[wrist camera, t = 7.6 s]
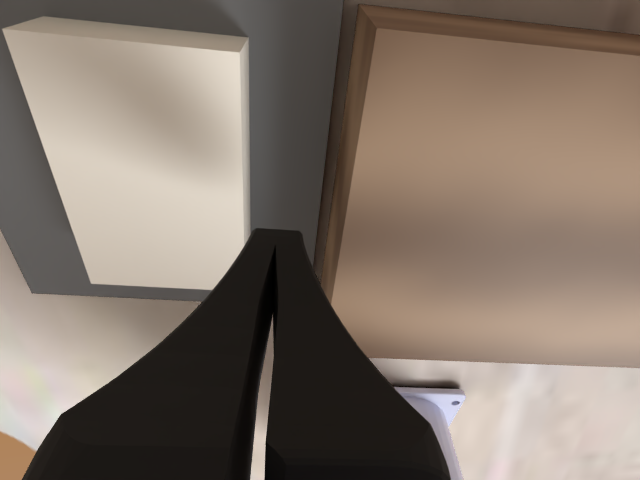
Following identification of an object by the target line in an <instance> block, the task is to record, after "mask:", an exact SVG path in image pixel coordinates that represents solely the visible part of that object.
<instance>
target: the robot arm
mask: <svg viewBox="0 0 640 480" xmlns="http://www.w3.org/2000/svg"><path fill="white" fill-rule="evenodd" d="M272 315H273V338H274V362H273V372H272V383H271V394H270V404H269V414H268V425H267V435H266V452H265V480H464V479H463V475H462V472H461V468H460V465H459V461H458V458H457V455H456V451H455V448H454V444H453V441H452V437H451V434H450V430H449V426H450V424H451V422H452V420H453V419H454V417H455V415H456V414H457V412H458V410H459V409H460V407H461V405H462V403H463V402H464V400H465V398H466V396H465V393H464V391H463V390H461V389H441V388H410V387H393V386H392V385H391V384H390V383H389V382H388V381H387V380H386V379H385V377H384V376H383V375H382V374H381V373H380V372H379V371H378V369H377V368H376V367H375V366H374V364H373V363H372V362H371V361H370V360H369V358H368V357H367V356H366V355H365V354H364V352H363V351H362V350H361V349H360V347H359V346H358V345H357V343H356V342H355V341H354V339H353V338H352V337H351V335H350V334H349V332H348V331H347V329H346V328H345V326H344V325H343V323H342V322H341V320H340V319H339V317H338V316H337V314H336V312H335V311H334V309H333V307H332V306H331V304H330V302H329V300H328V298H327V297H326V295H325V293H324V291H323V289H322V287H321V285H320V283H319V281H318V278H317V276H316V274H315V272H314V270H313V267H312V265H311V262H310V260H309V257H308V254H307V251H306V248H305V245H304V240H303V234H302V233H301V232H300V231H297V230H281V229H265V228H255V229H254V230H253V231H252V232H251V234H250V237H249V238H248V240H247V242H246V244H245V246H244V247H243V249H242V250H241V252H240V254H239V255H238V257H237V258H236V260H235V261H234V262H233V264H232V265H231V267H230V268H229V270H228V271H227V272H226V274H225V275H224V276H223V278H222V279H221V280H220V281H219V283H218V284H217V285H216V286H215V287H214V289H213V290H212V291H211V292H210V294H209V295H208V296H207V297H206V298H205V299H204V301H203V302H202V303H201V304H200V305H199V306H198V307H197V308H196V309H195V310H194V311H193V312H192V313H191V314H190V315H189V316H188V317H187V318H186V319H185V320H184V321H183V322H182V323H181V324H180V325H179V326H178V327H177V328H176V329H175V330H174V331H173V332H172V333H171V334H169V335H168V336H167V337H166V338H165V339H164V340H163V341H162V342H161V343H159V344H158V345H157V346H156V347H155V348H154V349H152V350H151V351H150V352H149V353H147V354H146V355H145V356H143V357H142V358H141V359H140V360H138V361H137V362H136V363H134V364H133V365H132V366H131V367H129V368H128V369H127V370H125V371H124V372H123V373H122V374H120V375H119V376H118V377H116V378H115V379H113V380H112V381H111V382H109V383H108V384H106V385H105V386H103V387H102V388H100V389H99V390H97V391H96V392H94V393H93V394H91V395H90V396H88V397H87V398H85V399H84V400H82V401H81V402H79V403H78V404H76V405H75V406H73V407H72V408H70V409H69V410H67V411H66V412H64V413H62V414H61V415H60V417H59V418H58V420H57V421H56V423H55V424H54V426H53V427H52V429H51V430H50V432H49V433H48V435H47V436H46V438H45V439H44V441H43V442H42V444H41V445H40V447H39V448H38V450H37V452H36V454H35V456H34V458H33V460H32V462H31V463H30V465H29V467H28V469H27V471H26V473H25V475H24V477H23V479H22V480H250V474H251V463H252V452H253V442H254V431H255V420H256V410H257V399H258V392H259V385H260V379H261V373H262V368H263V363H264V358H265V352H266V347H267V342H268V337H269V331H270V326H271V321H272Z"/></svg>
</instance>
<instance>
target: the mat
mask: <svg viewBox="0 0 640 480" xmlns="http://www.w3.org/2000/svg"><path fill="white" fill-rule="evenodd" d="M343 1H344V0H0V229H1V231H2V233H3V235H4V237H5V239H6V241H7V243H8V245H9V247H10V249H11V251H12V254H13V256H14V258H15V260H16V262H17V264H18V266H19V268H20V270H21V272H22V274H23V276H24V278H25V280H26V282H27V284H28V286H29V288H30V290H31V292H32V293H37V294H58V295H79V296H99V297H120V298H141V299H162V300H182V301H204V299H205V298H206V297H207V296H208V295H209V294H210V292H211V291H212V290H202V289H183V288H163V287H144V286H125V285H106V284H91V282H90V279H89V276H88V273H87V271H86V268H85V265H84V262H83V259H82V256H81V253H80V251H79V248H78V245H77V242H76V239H75V236H74V233H73V231H72V228H71V225H70V222H69V219H68V216H67V213H66V211H65V208H64V205H63V202H62V199H61V196H60V193H59V191H58V188H57V185H56V182H55V179H54V176H53V173H52V171H51V168H50V165H49V162H48V159H47V156H46V153H45V151H44V148H43V145H42V142H41V139H40V136H39V133H38V131H37V128H36V125H35V122H34V119H33V116H32V113H31V111H30V108H29V105H28V102H27V99H26V96H25V93H24V91H23V88H22V85H21V82H20V79H19V76H18V73H17V71H16V68H15V65H14V62H13V59H12V56H11V53H10V51H9V48H8V45H7V42H6V39H5V36H4V33H3V30H2V29H3V28H6V27H9V26H13V25H16V24H19V23H23V22H26V21H29V20H33V19H36V18H39V17H43V16H46V17H56V18H65V19H75V20H85V21H94V22H104V23H114V24H124V25H133V26H143V27H153V28H162V29H172V30H182V31H191V32H201V33H211V34H220V35H230V36H240V37H249V130H250V233H251V232H252V231H253V230H254V229H255V228H265V229H281V230H297V231H300V232H301V233H302V234H303V240H304V245H305V248H306V251H307V254H308V257H309V260H310V262H311V265H312V267H313V262H314V253H315V244H316V236H317V227H318V218H319V210H320V201H321V192H322V184H323V175H324V166H325V158H326V149H327V140H328V132H329V123H330V114H331V105H332V97H333V88H334V79H335V71H336V62H337V53H338V45H339V36H340V27H341V19H342V10H343Z"/></svg>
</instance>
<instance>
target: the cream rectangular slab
mask: <svg viewBox="0 0 640 480" xmlns="http://www.w3.org/2000/svg"><path fill="white" fill-rule="evenodd" d="M2 30H3V33H4V36H5V39H6V42H7V45H8V48H9V51H10V53H11V56H12V59H13V62H14V65H15V68H16V71H17V73H18V76H19V79H20V82H21V85H22V88H23V91H24V93H25V96H26V99H27V102H28V105H29V108H30V111H31V113H32V116H33V119H34V122H35V125H36V128H37V131H38V133H39V136H40V139H41V142H42V145H43V148H44V151H45V153H46V156H47V159H48V162H49V165H50V168H51V171H52V173H53V176H54V179H55V182H56V185H57V188H58V191H59V193H60V196H61V199H62V202H63V205H64V208H65V211H66V213H67V216H68V219H69V222H70V225H71V228H72V231H73V233H74V236H75V239H76V242H77V245H78V248H79V251H80V253H81V256H82V259H83V262H84V265H85V268H86V271H87V273H88V276H89V279H90V282H91V284H106V285H125V286H144V287H163V288H183V289H202V290H213V289H214V287H215V286H216V285H217V284H218V283H219V281H220V280H221V279H222V278H223V276H224V275H225V274H226V272H227V271H228V270H229V268H230V267H231V265H232V264H233V262H234V261H235V260H236V258H237V257H238V255H239V254H240V252H241V250H242V249H243V247H244V246H245V244H246V242H247V240H248V238H249V237H250V234H251V233H250V130H249V37H240V36H230V35H220V34H211V33H201V32H191V31H182V30H172V29H162V28H153V27H143V26H133V25H124V24H114V23H104V22H94V21H85V20H75V19H65V18H56V17H46V16H43V17H39V18H36V19H33V20H29V21H26V22H23V23H19V24H16V25H13V26H9V27H6V28H3V29H2Z"/></svg>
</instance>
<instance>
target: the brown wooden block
mask: <svg viewBox="0 0 640 480" xmlns="http://www.w3.org/2000/svg"><path fill="white" fill-rule="evenodd" d="M320 285H321V287H322V289H323V291H324V293H325V295H326V297H327V298H328V300H329V302H330V304H331V306H332V307H333V309H334V311H335V312H336V314H337V316H338V317H339V319H340V320H341V322H342V323H343V325H344V326H345V328H346V329H347V331H348V332H349V334H350V335H351V337H352V338H353V339H354V341H355V342H356V343H357V345H358V346H359V347H360V349H361V350H362V351H363V352H364V354H365V355H366V356H367V357H368V358H391V359H417V360H443V361H469V362H495V363H521V364H547V365H573V366H599V367H626V368H640V35H635V34H626V33H617V32H608V31H599V30H590V29H581V28H572V27H563V26H554V25H544V24H535V23H526V22H517V21H508V20H499V19H490V18H481V17H472V16H463V15H454V14H445V13H436V12H427V11H418V10H409V9H400V8H391V7H382V6H373V5H363V4H358V11H357V19H356V26H355V34H354V41H353V48H352V56H351V63H350V70H349V78H348V85H347V93H346V100H345V107H344V115H343V122H342V129H341V137H340V144H339V152H338V159H337V166H336V174H335V181H334V188H333V196H332V203H331V211H330V218H329V225H328V233H327V240H326V247H325V255H324V262H323V269H322V277H321V284H320Z"/></svg>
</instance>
